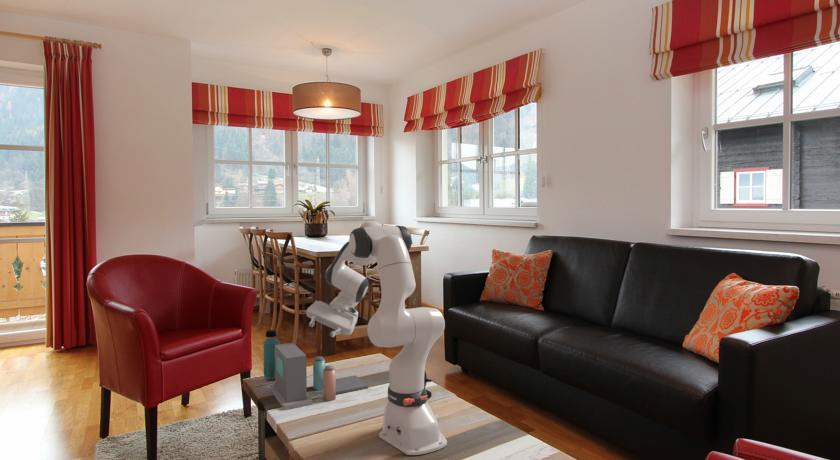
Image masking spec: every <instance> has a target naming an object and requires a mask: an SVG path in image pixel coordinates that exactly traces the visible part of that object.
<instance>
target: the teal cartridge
mask: <svg viewBox="0 0 840 460" xmlns="http://www.w3.org/2000/svg"><path fill="white" fill-rule="evenodd" d="M312 360H313V361H312V370H313V371H312V372H313V373H312V376H313V377H312V380H313V381H312V382H313V383H312V384H313V390H315V391H323V369H324V368H325V366H326V359H325V358H324V356H322V355H321V356H319V355H318V356H315V357H314V359H312Z"/></svg>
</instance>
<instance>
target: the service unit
mask: <svg viewBox="0 0 840 460" xmlns="http://www.w3.org/2000/svg"><path fill="white" fill-rule="evenodd" d="M307 378H308V377H307V354H306V353H304V352H303V351H302V350H301V349H300V348H299V347H298V346H297V345H296V344H295V343H294V342H288V343H287V342H286V343H279V345H275V378H274V384H270V385H269V390H270V391H271V392H272V394H273V396H274V397H275V399H276V400H277V402H278V404H280V406H281V408H282V409H283V411H287V410H292V409H297V408H302V407H307V406H311V405H313V404H314V403H313V399H312V397H310V396H309V394H308V390H307V388H308V387H307V384H308V383H307Z"/></svg>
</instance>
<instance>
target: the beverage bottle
mask: <svg viewBox="0 0 840 460" xmlns="http://www.w3.org/2000/svg"><path fill="white" fill-rule="evenodd" d="M265 337H266V339H265V340H264V341H263V342H262V344H263V347H262V348H263V376H264V378H265V379H275V345H279V344H280V340H279V339H278V338H277V330H275V329H270V330H267V331H266V332H265Z"/></svg>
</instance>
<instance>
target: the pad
mask: <svg viewBox="0 0 840 460" xmlns="http://www.w3.org/2000/svg"><path fill="white" fill-rule="evenodd" d="M367 389H369V385H368V384H367V383H365V381H363V380H362V379H361V378H359V376H357V375H356V374H355V375H349V376H343V377H340V378H338V377H337V378H336V396H337V395H341V394H342V395H343V394H346V393H351V392H356V391H361V390H367Z"/></svg>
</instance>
